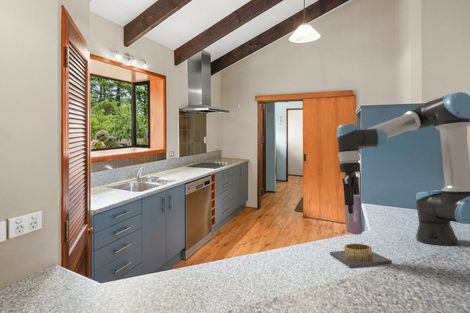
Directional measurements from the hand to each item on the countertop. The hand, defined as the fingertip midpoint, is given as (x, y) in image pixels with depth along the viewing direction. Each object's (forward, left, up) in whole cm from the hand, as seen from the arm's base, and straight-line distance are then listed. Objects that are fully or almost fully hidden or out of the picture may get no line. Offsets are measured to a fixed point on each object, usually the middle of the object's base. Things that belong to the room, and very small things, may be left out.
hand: (354, 220), depth 102 cm
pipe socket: (0, 0, -15) cm, 15 cm away
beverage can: (+1, 0, -5) cm, 5 cm away
